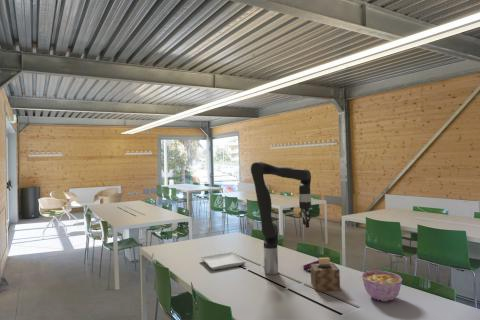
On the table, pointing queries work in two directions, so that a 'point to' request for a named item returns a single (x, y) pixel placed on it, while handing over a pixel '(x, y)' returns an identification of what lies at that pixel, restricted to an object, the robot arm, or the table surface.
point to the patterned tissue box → (325, 278)
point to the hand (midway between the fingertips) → (305, 226)
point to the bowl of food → (382, 284)
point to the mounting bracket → (310, 264)
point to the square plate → (223, 260)
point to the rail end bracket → (324, 262)
